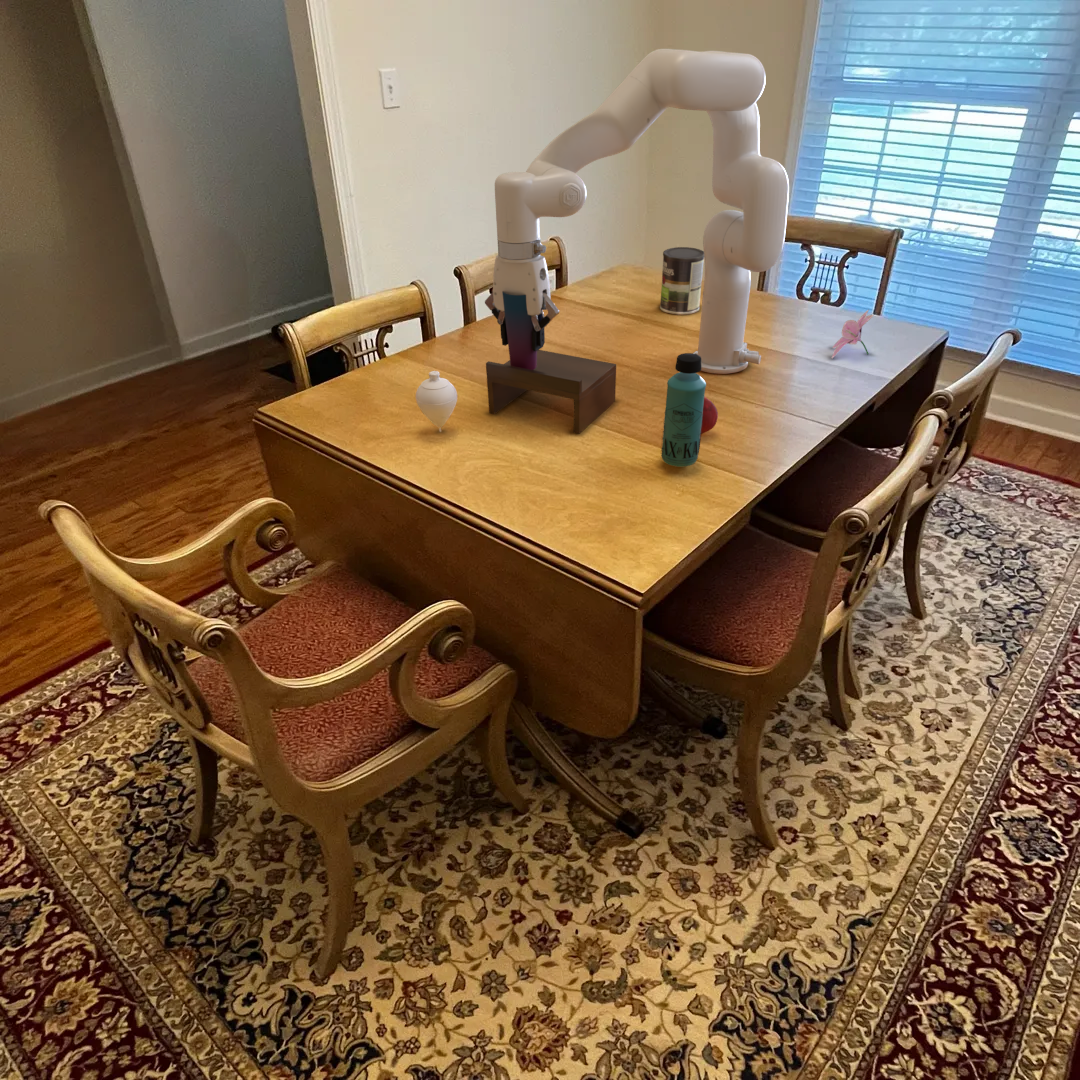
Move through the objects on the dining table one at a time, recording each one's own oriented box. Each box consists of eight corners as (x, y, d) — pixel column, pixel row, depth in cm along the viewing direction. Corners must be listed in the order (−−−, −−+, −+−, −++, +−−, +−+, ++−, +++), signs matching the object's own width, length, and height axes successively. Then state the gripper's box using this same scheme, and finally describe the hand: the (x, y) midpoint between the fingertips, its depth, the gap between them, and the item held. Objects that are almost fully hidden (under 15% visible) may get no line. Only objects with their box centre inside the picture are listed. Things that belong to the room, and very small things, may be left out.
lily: (845, 344, 185) (831, 309, 180) (896, 335, 176) (883, 298, 172) (827, 376, 180) (812, 341, 175) (878, 368, 171) (864, 331, 166)
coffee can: (668, 316, 201) (672, 259, 193) (654, 304, 209) (657, 249, 201) (706, 312, 203) (711, 255, 195) (690, 300, 211) (695, 245, 203)
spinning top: (443, 444, 147) (437, 384, 140) (411, 435, 150) (404, 375, 143) (468, 428, 152) (463, 369, 145) (436, 419, 155) (430, 361, 148)
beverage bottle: (656, 458, 140) (663, 349, 129) (693, 455, 141) (703, 347, 129) (664, 476, 135) (672, 365, 124) (702, 474, 135) (714, 362, 124)
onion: (717, 429, 149) (722, 389, 144) (712, 443, 145) (717, 402, 140) (686, 425, 151) (690, 386, 146) (681, 438, 146) (684, 398, 142)
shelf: (529, 383, 168) (527, 335, 162) (615, 401, 160) (616, 351, 154) (489, 413, 157) (485, 362, 151) (579, 434, 149) (579, 381, 143)
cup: (537, 374, 151) (534, 295, 142) (502, 372, 152) (497, 294, 143) (544, 360, 156) (542, 284, 148) (510, 359, 157) (506, 283, 149)
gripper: (571, 248, 141) (572, 346, 151) (489, 238, 148) (495, 333, 158) (551, 259, 135) (553, 360, 145) (467, 248, 142) (474, 345, 153)
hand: (522, 345), depth 152 cm, fingers closed on cup, 6 cm apart
